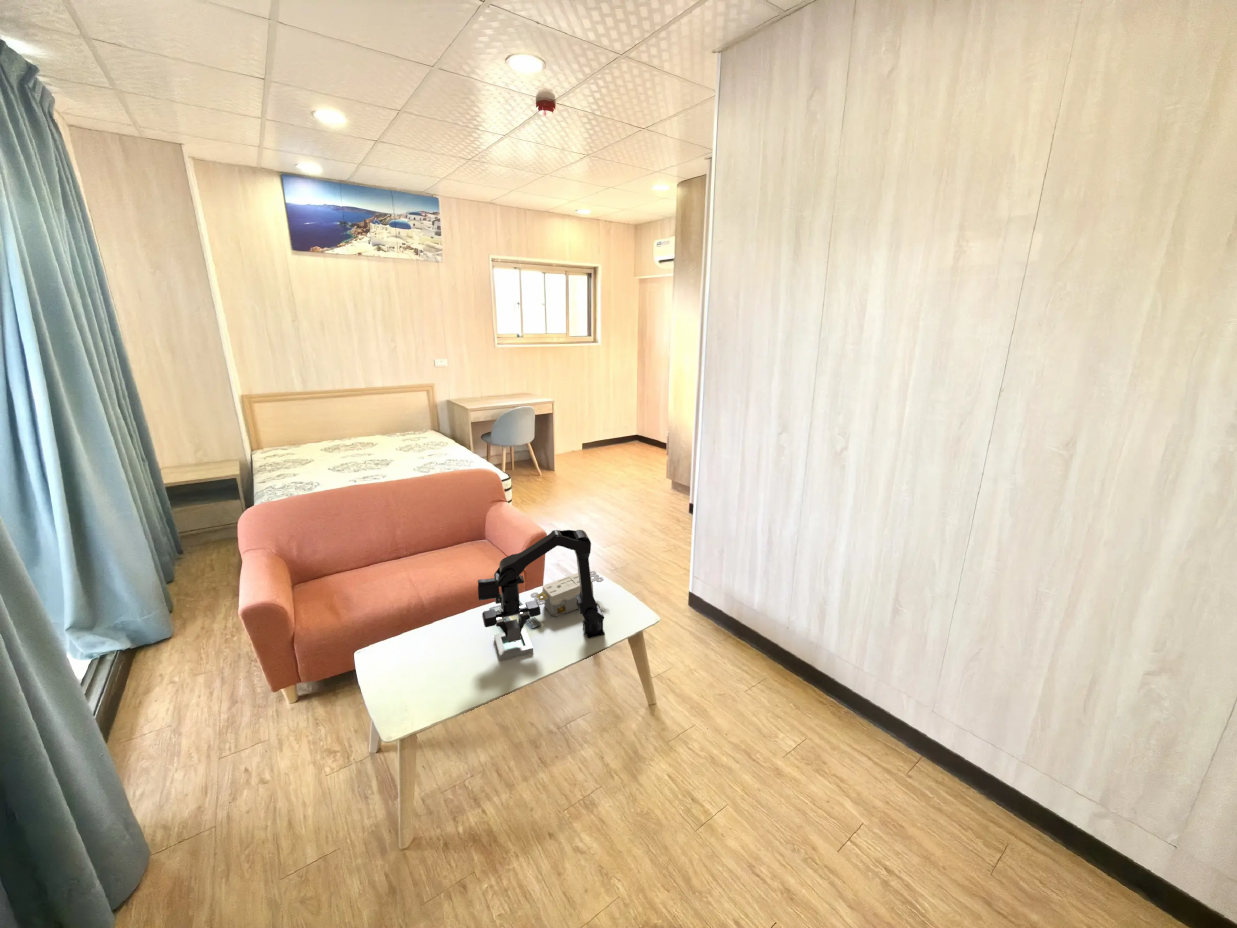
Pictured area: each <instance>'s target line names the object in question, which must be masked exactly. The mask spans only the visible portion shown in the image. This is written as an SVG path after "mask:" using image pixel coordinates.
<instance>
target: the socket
mask: <svg viewBox="0 0 1237 928" xmlns="http://www.w3.org/2000/svg"><path fill="white" fill-rule="evenodd" d="M493 636H494V637H493V639H494V642H495V647H496V650H497V654H498V657H499V661H500V662H503V661H507V660H511V659H513V658H518V657H522V656H525V655H526V656H527V655H529V654H533V653H534V648H533V644H532V642H531V639H530V636H529V634H528V631H527V628H526V627H523V628H522V631H521V633H520V636H521V638H520V640H518V641H516V642H510V643H509V642H508V639H507V637H506V635H505V633H504V632H501V633H497V634H494V635H493Z"/></svg>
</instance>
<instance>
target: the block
mask: <svg viewBox="0 0 1237 928" xmlns="http://www.w3.org/2000/svg"><path fill="white" fill-rule="evenodd" d="M505 625H506V629H507V639H508V642H509V643H510V642H514V641H518V640H520V627H519V624H518V619H517V618H516V619H510V620H506V621H505Z"/></svg>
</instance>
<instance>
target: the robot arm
mask: <svg viewBox="0 0 1237 928" xmlns="http://www.w3.org/2000/svg"><path fill="white" fill-rule="evenodd" d="M556 547H562V548H565V549H568V550H572V551H574V554H575V557H576V563H577V573H578V574H579V583H580V594H579V595H576V598H577V603H576V604H577V607H578V612H579V614H580V615H582V617H583V620H582V632H583V633H584V635H585V636H586V637H587V639H591V638H596V637H599V636H603V635H605V634H606V632H605V630H604V619H605V616H604V614H603V612H602V610H601V607H600V606H599V604H598V603H597V602H596V599H595V597H594V593H593V594H592V586H591V578H592V577H591V576H590V572H591V569H590V559H589V557H590V555H591V550H592V548H591V547H592V542H591V539H590V538H589V536H588V534H587V533H586V531H584V530H583V529H577V530H573V529H566V530H565V529H564V530H560V529H559V530H558V529H553V530H552V531H551V532H550V533H548V534H547V535H545V536H544V537H542V538H541V539H539V540H538V541H535V543H533V544H531V545H530V546H529V547H527V548H525V549H524V550H523V551H521V552H518V553H513V554H510V555H508V556H506V557H503V558H502V559H501V560H500V561H499V563H498V565H499V566H498V568H497V569H496V571H495V572H494V574H493V576H494V577H493V578H485V579H483V578H482V579H481V578H480V579H478V580H477V594H478V602H481V601H486V600H492V599H494V602H495V603H494V604H496V605H497V604H500V608H501V610H502V611H500V612H496V611H495V609H493V608H492V609H489V610H484V611H483V612H481V617H482V621H483V625H484V626H483V627H485V628H490V627H493V626H496V628H497V627H500V629H501V630H502V631H503V633H505V635H506V637H507V629H506V625H505V622H506V621H505V619H506V618H510V617H515V616H518V619H517V621H518V624H519V627H520V633H521V631H522V628H524V626H525V624H526V623H527V621H529V620H530V619H531V617H532V618H533V617H538V616H540V615H541V612H542V611H541V606H540V605H539V604H538V602H537V601H536V600H534V599H533V600H529V601H526V602H525V603H524V605H521V602H520V589H519V588H520V587H519V585H520V584H524V583H525V578H524V576H523V575H522V573H523V572H524V571H525V569H526V568H527V567H528V566H529V565H530V564H532V563H533V562H535V561H536V560H538V559H539V558H541V557H542V556H544V555H546V554H547V553H548V552H550V551H552V550H553V549H554V548H556ZM500 591H501V593H500Z"/></svg>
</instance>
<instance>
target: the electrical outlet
mask: <svg viewBox="0 0 1237 928" xmlns="http://www.w3.org/2000/svg"><path fill="white" fill-rule="evenodd" d="M590 576H591V586H592V594H593V595H594V584H593V582H595V581H596V582H597V583H601V582H603V581H604V578H603V577H602V576H601V577H600V575H599V574H597V571H595V570H592V571H591V570H590ZM592 577H593V578H592ZM579 594H580V583H579V574H578V572H575V573H573V574H571V575H568V576H565V577H563V578H560V579H558V580H555V581H551V582H549V583H546V584H545V585H542V592H540V593H539V592H537V591H536V592H532V593H530V598H533V601H534V600H536V601H537V602H538V604H539V606H542V605H544V608H546V610H547V611H548V612H549V614H551V616H552V617H553V616H554V617H556V618H558V617H559V616H560V615H563V614H565V613H571V612H573V611H575V610H577V609H578V607H577V604H576V603H577V598H576V595H579ZM578 610H579V609H578Z"/></svg>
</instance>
